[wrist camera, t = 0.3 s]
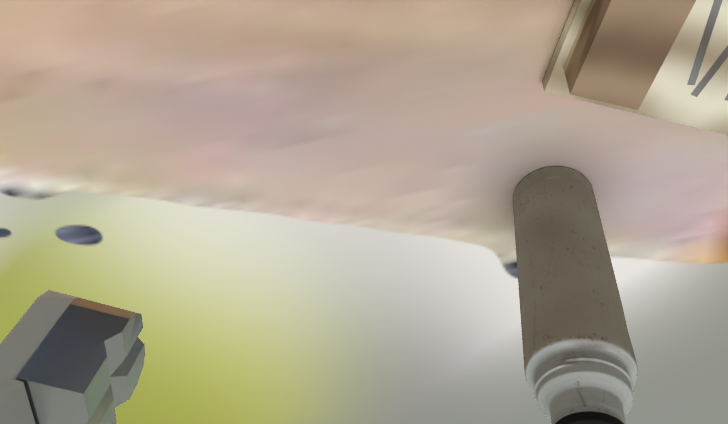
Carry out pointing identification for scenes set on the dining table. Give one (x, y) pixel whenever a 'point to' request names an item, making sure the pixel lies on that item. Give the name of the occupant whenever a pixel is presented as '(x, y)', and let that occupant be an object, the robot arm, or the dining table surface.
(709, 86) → the board
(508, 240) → the dining table surface
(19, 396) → the robot arm
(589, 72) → the block
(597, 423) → the thermos bottle
